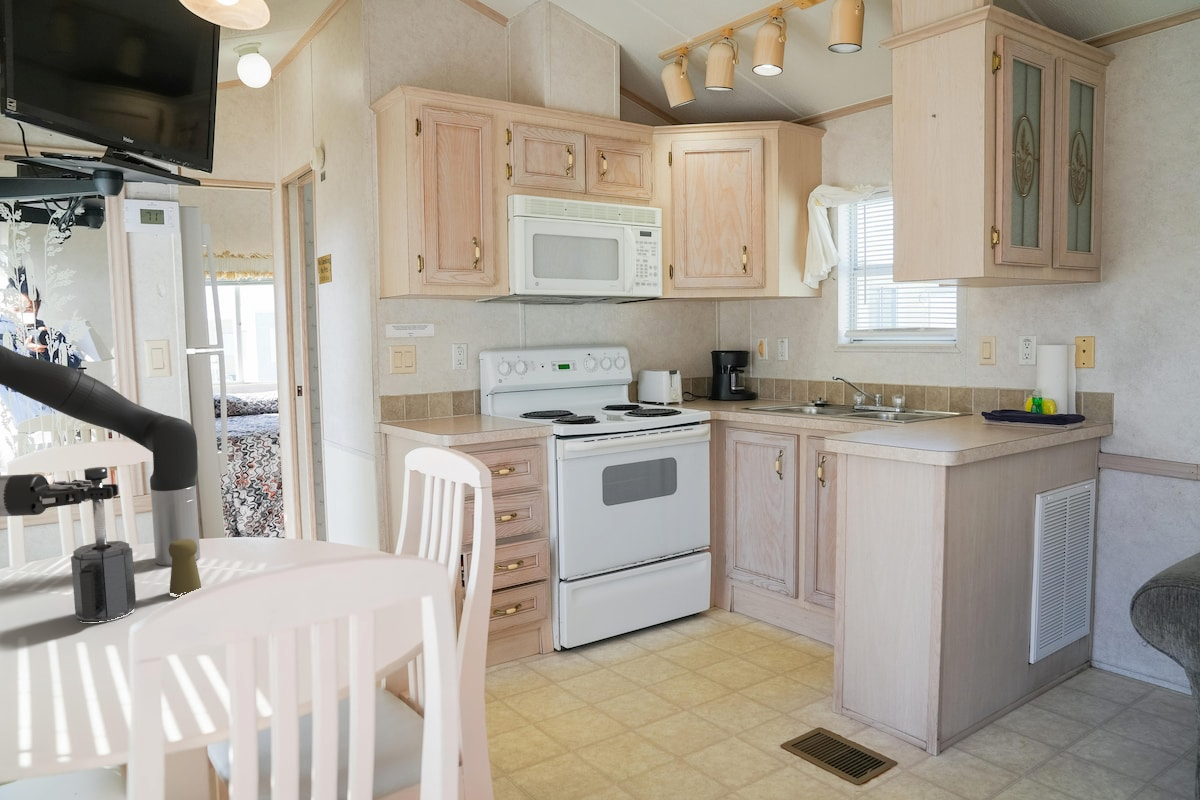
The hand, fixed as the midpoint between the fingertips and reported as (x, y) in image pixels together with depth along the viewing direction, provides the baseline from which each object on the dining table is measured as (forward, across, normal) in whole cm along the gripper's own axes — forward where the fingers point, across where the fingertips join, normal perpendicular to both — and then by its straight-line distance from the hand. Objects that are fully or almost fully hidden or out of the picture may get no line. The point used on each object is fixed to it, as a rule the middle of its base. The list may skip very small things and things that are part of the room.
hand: (114, 491), depth 153 cm
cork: (+8, +10, +24) cm, 27 cm away
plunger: (-3, 0, +17) cm, 17 cm away
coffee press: (-3, -1, +24) cm, 24 cm away
